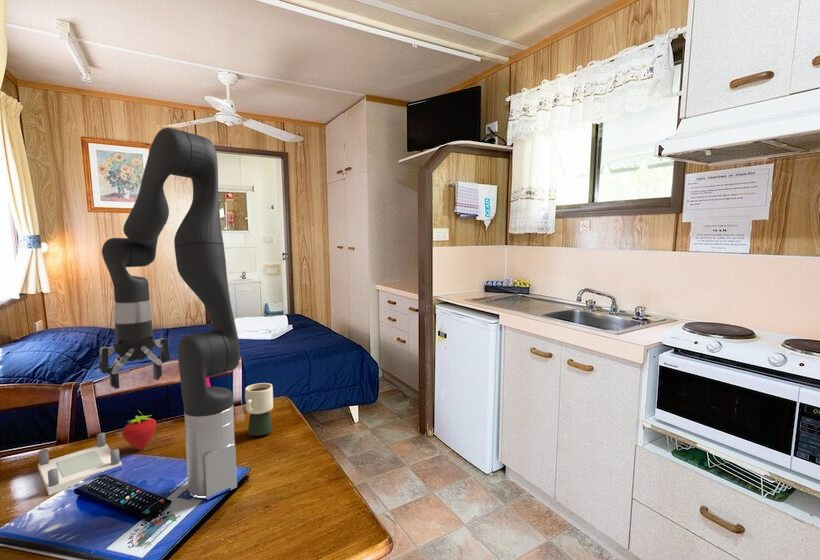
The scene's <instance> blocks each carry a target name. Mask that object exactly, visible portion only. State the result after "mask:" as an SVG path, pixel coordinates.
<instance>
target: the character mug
mask: <svg viewBox="0 0 820 560" xmlns="http://www.w3.org/2000/svg"><path fill="white" fill-rule="evenodd" d="M273 388H274V387H273V384H272V383H267V382H260V383H258V382H257V383H254V384H250V385H247V386H246V387H245V388H244V400H245V408H244V409H245V411H246V413H249V414H250V415H249V419H248V427H247V428H248V429H247V430H248V431H247V435H249V436H250V437H251V436H255V437H256V436H257V437H258V436H264V435H268V434H271V432H272V431H273V421H272V417H271V412H270V411H272V410H273V408H274V389H273Z"/></svg>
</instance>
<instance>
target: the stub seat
mask: <svg viewBox="0 0 820 560" xmlns="http://www.w3.org/2000/svg"><path fill="white" fill-rule="evenodd" d="M96 441H97V443H96V444H97V445H94V446H92V447H88V448H85V449H82V450H78V451H75V452H71V453H69V454H65V455H61V456H59V457H55V458H52V459H50V456H49V454H50V453H49V449H48V448H45V449H41V450H39V451H38V460H39V462H38V463H37V468H38V473H39V475H40V478H41V479H42V483H43V484H44V487H45V489H46V491H47V495H48V496H51V495H55V494H57V493H59V492H62V491H64V490H65V491H66V490H67V488H68V489H70V488H69V487H71V488H73V487H72V486H74V485H75V484H77V483H79V482H80V481H82V480H84V479H85V478H87V477H89V476H91V475H94V474H96V473H100V472H104V471H106V470H109V469H112V468H115V467H118V466H121V465H122V466H123V462H122V461H121V460H120V458H121V457H120V449H119V448H115V449H111V448H110V447H109V446H108V445H109V444H107V443H106V442H107V441H106V433H105V432H99V433H97V434H96ZM74 487H75V486H74Z"/></svg>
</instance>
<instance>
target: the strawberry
mask: <svg viewBox="0 0 820 560" xmlns="http://www.w3.org/2000/svg"><path fill="white" fill-rule="evenodd" d="M137 411H138V412H139V413H140V414H141V416H140V415H135V418H134V419H131V420H127V423H128V424H126V425H125V426H124V427H123V430H122V436H123V438H124V440H125V442H127V443H128V444H130V446H132V447H134V448H136V449H137V450H139V451H142V450H144V449H145V448H146V447H147V445H148V444H149V442H150V441H151V439H152V438H153V436H154V435H155V432H156V429H157V425H158V423H157V421H156V419H154V418H152V417H151V416H153V414H150V415H143V414H142V412H141V411H139V409H138V410H137Z"/></svg>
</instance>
